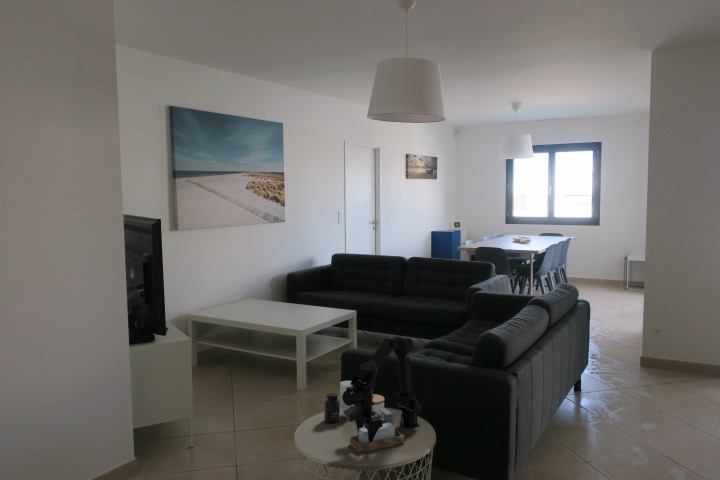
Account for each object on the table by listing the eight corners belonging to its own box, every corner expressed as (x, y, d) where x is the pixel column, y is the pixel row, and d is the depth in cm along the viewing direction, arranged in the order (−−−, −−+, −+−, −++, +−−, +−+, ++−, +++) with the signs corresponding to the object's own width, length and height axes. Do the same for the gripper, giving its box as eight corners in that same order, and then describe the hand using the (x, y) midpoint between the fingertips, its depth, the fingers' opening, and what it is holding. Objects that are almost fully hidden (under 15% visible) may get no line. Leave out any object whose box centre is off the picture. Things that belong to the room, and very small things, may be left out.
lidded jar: (368, 421, 240) (368, 400, 239) (356, 412, 249) (356, 392, 248) (388, 416, 245) (388, 396, 244) (376, 408, 254) (376, 389, 254)
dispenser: (385, 425, 235) (385, 407, 234) (393, 431, 229) (393, 413, 228) (372, 428, 232) (372, 410, 231) (380, 434, 226) (380, 415, 225)
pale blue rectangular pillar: (389, 436, 221) (389, 422, 221) (394, 440, 218) (394, 426, 217) (358, 443, 215) (358, 428, 215) (363, 447, 211) (363, 432, 211)
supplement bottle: (337, 424, 235) (337, 397, 235) (322, 423, 237) (322, 396, 236) (341, 418, 242) (341, 392, 241) (326, 417, 243) (326, 391, 243)
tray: (393, 435, 225) (393, 428, 225) (403, 443, 217) (404, 435, 217) (349, 444, 216) (350, 437, 216) (359, 452, 208) (359, 445, 208)
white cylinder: (357, 413, 248) (357, 381, 247) (351, 419, 242) (352, 386, 241) (343, 411, 250) (343, 379, 249) (337, 417, 244) (338, 384, 243)
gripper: (336, 394, 218) (336, 432, 219) (357, 410, 201) (357, 451, 202) (361, 390, 223) (361, 427, 224) (383, 405, 206) (383, 445, 207)
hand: (364, 437), depth 214 cm, fingers open, 9 cm apart
